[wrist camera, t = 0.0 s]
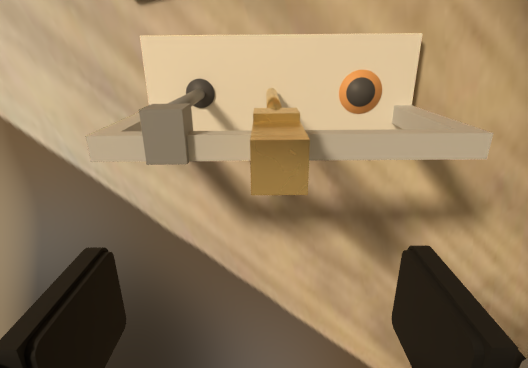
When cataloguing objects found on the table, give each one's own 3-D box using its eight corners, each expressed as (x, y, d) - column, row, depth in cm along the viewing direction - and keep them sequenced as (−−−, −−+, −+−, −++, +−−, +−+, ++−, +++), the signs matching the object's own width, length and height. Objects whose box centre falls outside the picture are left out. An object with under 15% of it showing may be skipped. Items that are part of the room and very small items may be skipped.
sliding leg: (258, 87, 37) (249, 128, 16) (285, 87, 37) (310, 127, 16) (258, 125, 38) (251, 203, 18) (284, 124, 38) (307, 203, 18)
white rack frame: (144, 36, 37) (55, 22, 21) (416, 34, 37) (529, 18, 21) (158, 142, 41) (92, 196, 25) (401, 140, 41) (485, 193, 25)
